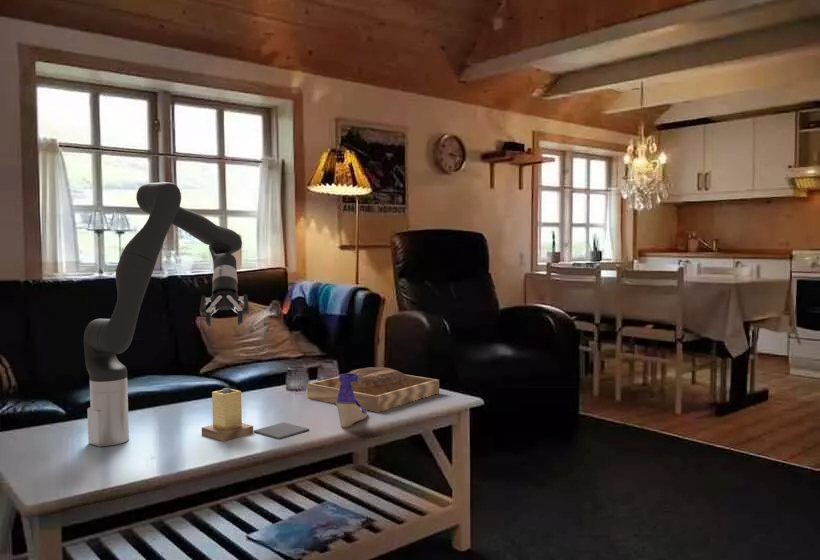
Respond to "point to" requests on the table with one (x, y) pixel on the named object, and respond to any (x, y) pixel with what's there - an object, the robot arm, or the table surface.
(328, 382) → the bread tray
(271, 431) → the mat
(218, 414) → the sleeve
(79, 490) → the table surface
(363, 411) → the purple wedge sandal
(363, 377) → the bread
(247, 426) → the peg stand
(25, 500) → the table surface
